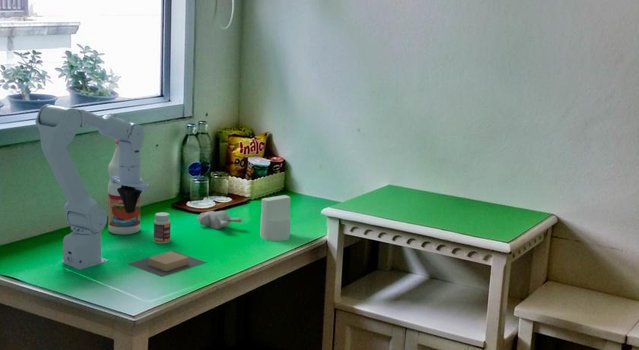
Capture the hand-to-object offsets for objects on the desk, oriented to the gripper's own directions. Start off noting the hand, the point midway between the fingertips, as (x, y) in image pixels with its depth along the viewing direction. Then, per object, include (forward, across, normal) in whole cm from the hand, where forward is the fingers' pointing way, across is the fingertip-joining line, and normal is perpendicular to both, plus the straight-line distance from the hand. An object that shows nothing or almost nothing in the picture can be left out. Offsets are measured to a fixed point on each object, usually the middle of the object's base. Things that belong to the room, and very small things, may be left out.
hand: (130, 212), depth 235 cm
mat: (+10, -18, +2) cm, 21 cm away
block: (+9, -16, +3) cm, 19 cm away
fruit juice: (+11, +14, -9) cm, 20 cm away
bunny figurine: (+11, -2, -32) cm, 34 cm away
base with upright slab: (+11, -21, -38) cm, 45 cm away
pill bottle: (+11, -2, -10) cm, 15 cm away
